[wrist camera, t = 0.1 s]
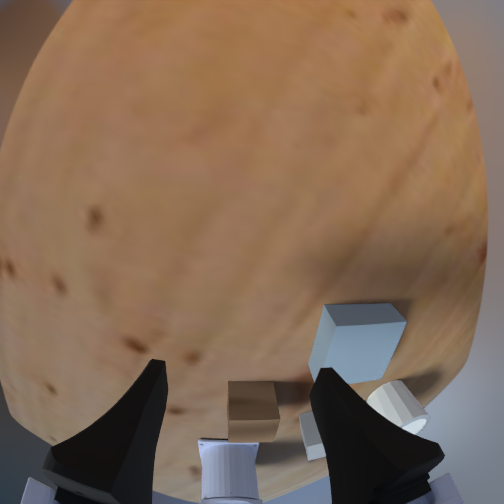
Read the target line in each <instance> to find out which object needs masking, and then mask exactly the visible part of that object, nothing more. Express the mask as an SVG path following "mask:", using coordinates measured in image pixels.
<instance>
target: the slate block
mask: <svg viewBox="0 0 504 504" xmlns="http://www.w3.org/2000/svg"><path fill="white" fill-rule="evenodd" d="M406 323H407V321H406V320H405V318H404V317H403V316H402V315H401V314H400V313H399V312H398V311H397V310H396V309H395V308H394V306H393V305H392V304H391V303H378V304H338V305H324V306H323V311H322V315H321V319H320V323H319V327H318V331H317V334H316V338H315V342H314V346H313V349H312V353H311V356H310V360H309V363H308V365H309V368H310V371H311V374H312V377H313V380H314V383H315V380H316V378H317V375H318V373H319V370H320V368H328V367H332V368H333V369H334V370H335V371H336V372H337V373H338V374H339V375H340V376H341V377H342V378H343V380H344V381H345V382H346V383H347V384H352V383H359V382H366V381H372V380H378V379H381V378H382V376H383V374H384V372H385V370H386V368H387V366H388V364H389V362H390V360H391V358H392V355H393V353H394V351H395V349H396V347H397V344H398V342H399V340H400V337H401V335H402V333H403V330H404V328H405V325H406Z"/></svg>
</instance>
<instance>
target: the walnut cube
mask: <svg viewBox="0 0 504 504" xmlns="http://www.w3.org/2000/svg"><path fill="white" fill-rule="evenodd" d="M227 411H228V443H259V442H274V439H275V435H276V432H277V429H278V425H279V422H280V415H279V410H278V404H277V399H276V394H275V389H274V384H273V381H258V382H238V381H228V403H227Z"/></svg>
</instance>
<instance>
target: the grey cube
mask: <svg viewBox="0 0 504 504" xmlns="http://www.w3.org/2000/svg"><path fill="white" fill-rule="evenodd" d="M299 420H300V428H301V434H302V438H303V442H304V446H305V450H306V454H307V458H308V461H309V460H313V459H317V458H321V457H325V456H326V454H325V450H324V446H323V443H322V440H321V437H320V434H319V431H318V428H317V425H316V422H315V419H314V415H313V412H312V411H311V412H307V413H303V414H299Z"/></svg>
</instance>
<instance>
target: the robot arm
mask: <svg viewBox="0 0 504 504" xmlns="http://www.w3.org/2000/svg"><path fill="white" fill-rule="evenodd" d="M167 395H168V383H167V374H166V364H165V361H162V360H155V359H152V360H150V361H149V363H148V365H147V366H146V367H145V369H144V370H143V372H142V373H141V374H140V376H139V377H138V378H137V380H136V381H135V382H134V384H133V385H132V386H131V387H130V388H129V390H128V391H127V392H126V393H125V394H124V395H123V396H122V397H121V399H120V400H119V401H118V402H117V403H116V404H115V405H114V406H113V407H112V408H111V409H110V410H109V411H107V412H106V413H105V414H104V415H103V416H102V417H100V418H99V419H98V420H97V421H95V422H94V423H93V424H92V425H90V426H89V427H87V428H86V429H84V430H83V431H81V432H79V433H78V434H76V435H75V436H73V437H71V438H69V439H67V440H65V441H63V442H61V443H59V444H57V445H55V446H52V447H51V448H50V450H49V452H48V454H47V456H46V458H45V461H44V464H43V467H42V472H43V474H44V475H45V476H46V477H47V478H48V479H50V480H51V481H52V482H53V483H54V484H56V485H57V486H58V489H57V491H55V490H54V489H52V488H50V487H48V486H46V485H44V484H42V483H40V482H38V481H36V480H34V479H33V478H31V477H30V478H29V479H28V482H27V485H26V488H25V491H24V494H23V497H22V501H21V504H152V485H153V471H154V460H155V452H156V446H157V442H158V438H159V433H160V429H161V425H162V421H163V417H164V413H165V409H166V403H167ZM310 400H311V406H312V412H313V415H314V419H315V422H316V425H317V428H318V431H319V434H320V437H321V440H322V443H323V446H324V450H325V454H326V459H327V464H328V470H329V477H330V484H331V495H332V504H464V501H463V499H462V497H461V495H460V493H459V491H458V489H457V487H456V485H455V483H454V481H453V480H452V477H451V475H450V474H449V473H447V474H445V475H443V476H441V477H439V478H437V479H435V480H434V481H432V482H430V483H428V481H427V480H428V479H429V478H430V476H429V474H428V472H430V471H431V470H432V469H433V468H434V467H435V466H437V465H438V464H439V463H440V462H441V461H442V460H443V459H444V456H445V455H444V453H443V451H442V449H441V447H440V446H439V444H438V443H436V442H432V441H429V440H427V439H424V438H421V437H419V436H417V435H414V434H412V433H410V432H408V431H406V430H404V429H402V428H401V427H399V426H397V425H396V424H394V423H392V422H391V421H389V420H388V419H386V418H385V417H384V416H382V415H381V414H380V413H378V412H377V411H376V410H374V409H373V408H372V407H371V406H370V405H369V404H368V403H366V402H365V401H364V400H363V399H362V398H361V397H360V396H359V395H358V394H357V393H356V392H355V391H354V390H353V389H352V388H351V387H350V386H349V385H348V384H347V383H346V382H345V381H344V380H343V378H342V377H341V376H340V375H339V374H338V373H337V372H336V371H335V370H334V369H333V368H332V367H328V368H320V370H319V373H318V375H317V378H316V380H315V383H314V385H313V388H312V390H311V393H310ZM198 445H199V451H200V457H201V462H202V499H200V504H262V500H259V494H258V485H257V476H256V467H255V460H256V455H257V451H258V447H259V443H228V440H206V439H200V440H198Z"/></svg>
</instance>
